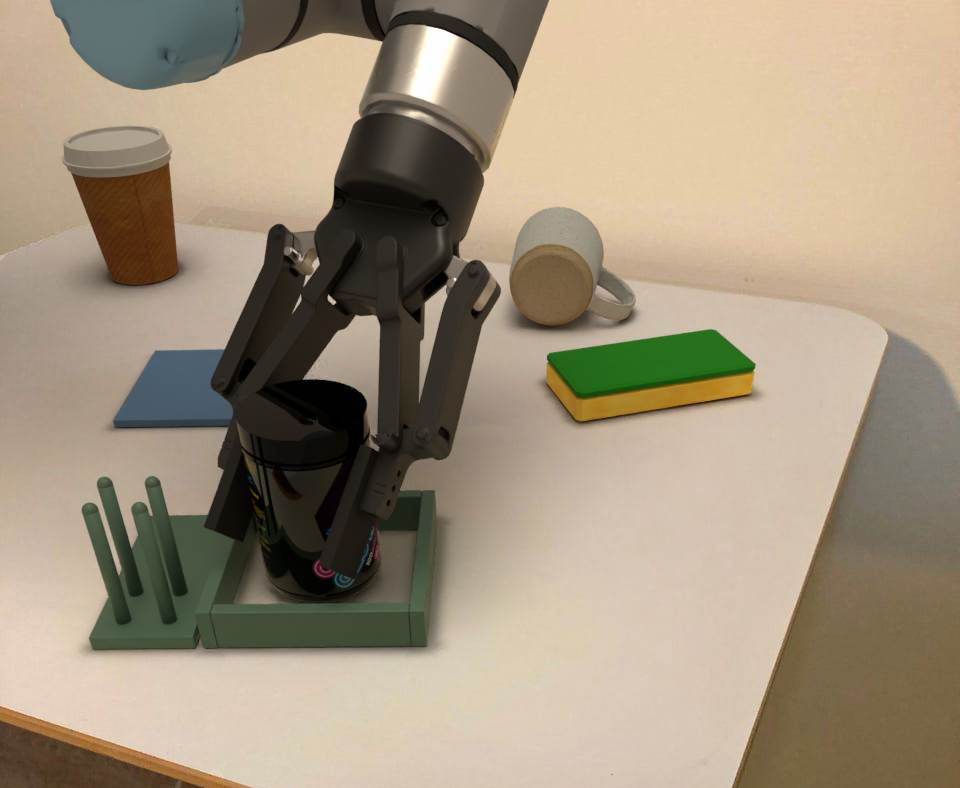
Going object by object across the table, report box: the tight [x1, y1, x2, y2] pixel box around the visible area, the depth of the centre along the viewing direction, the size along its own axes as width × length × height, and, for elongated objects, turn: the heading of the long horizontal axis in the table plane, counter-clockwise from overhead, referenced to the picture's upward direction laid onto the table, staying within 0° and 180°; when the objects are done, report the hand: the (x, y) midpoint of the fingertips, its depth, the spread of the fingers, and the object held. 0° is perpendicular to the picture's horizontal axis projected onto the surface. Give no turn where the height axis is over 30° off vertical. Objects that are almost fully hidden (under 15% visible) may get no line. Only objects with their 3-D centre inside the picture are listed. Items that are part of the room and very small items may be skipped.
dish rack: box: [81, 475, 438, 650], centre depth 57 cm, size 18×12×8 cm, turn 89°
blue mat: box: [112, 348, 233, 428], centre depth 79 cm, size 12×12×1 cm
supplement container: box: [235, 378, 382, 604], centre depth 56 cm, size 7×7×10 cm
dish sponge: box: [545, 328, 757, 422], centre depth 77 cm, size 7×14×2 cm, turn 106°
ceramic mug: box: [508, 206, 637, 327], centre depth 87 cm, size 11×8×8 cm
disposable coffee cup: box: [61, 125, 179, 286], centre depth 95 cm, size 10×10×12 cm
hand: (279, 552), depth 55 cm, fingers closed on supplement container, 7 cm apart
